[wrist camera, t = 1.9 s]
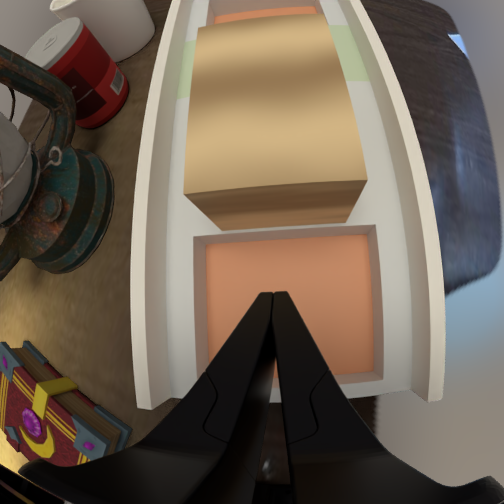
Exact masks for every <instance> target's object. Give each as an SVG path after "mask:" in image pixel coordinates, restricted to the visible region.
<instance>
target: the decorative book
mask: <svg viewBox="0 0 504 504" xmlns="http://www.w3.org/2000/svg"><path fill="white" fill-rule="evenodd" d="M47 362H48V360H47V359H46V358H45V357H44V356H43V355H42V354H41V353H40V352H39V351H38V350H37V349H36V348H35V347H34V346H33V345H32V344H31V343H30V342H29V341H24V342H23V347H22V348H12V349H11V348H10V347H9V345H8V344H7V343H6V342H0V428H1V429H2V431H3V432H4V433H5V434H6V435H7V441H8V442H9V443H10V444H11V446H12V447H13V448H14V449H15V450H16V451H17V452H20V451H21V453H22V454H23V455H24V456H25V457H26V458H27V459H28V460H29V461H32V460H34V459H36V458H42V459H44V460H46V461H48V462H50V463H53V464H55V465H58V466H74V465H79V464H82V463H85V462H88V461H91V460H94V459H97V458H100V457H103V456H106V455H109V454H112V453H115V452H118V451H120V450H123V449H124V448H125V446H126V443H127V441H128V438H129V435H130V433H131V430H132V428H130V427H129V426H127V425H126V424H124V423H123V422H121V421H120V420H119V419H117V418H116V417H114V416H113V415H112V414H110V413H109V412H108V411H106V410H105V409H103V408H102V407H101V406H100V405H98V406H96V405H95V404H94V403H92V402H91V401H90V400H89V399H87V398H86V397H85V396H84V395H83V394H81V393H80V392H79V391H78V390H77V388H78V386H77V385H76V384H75V383H74V382H73V381H71V380H70V379H69V378H68V377H62V376H61V375H60V374H59V373H58V372H57V371H55V370H54V369H53V368H52V367H51V366H50V365H49V364H48V363H47Z"/></svg>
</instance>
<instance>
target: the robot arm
mask: <svg viewBox="0 0 504 504" xmlns="http://www.w3.org/2000/svg"><path fill="white" fill-rule="evenodd" d="M275 362H276V364H277V372H278V380H279V388H280V397H281V405H282V413H283V421H284V430H285V438H286V446H287V455H288V464H289V473H290V482H291V486H290V485H265V484H255V481H256V477H257V472H258V467H259V461H260V456H261V450H262V444H263V439H264V433H265V427H266V421H267V415H268V409H269V403H270V396H271V390H272V383H273V377H274V370H275ZM18 473H19V474H20V475H22V476H23V477H25V478H26V479H25V478H23V477H22V476H20V475H18V474H17V473H15V472H13V471H11V470H10V469H8V468H6V467H4V466H3V465H1V464H0V504H498V503H499V504H504V501H503V500H504V488H503V487H502V485H500V484H499V483H498V482H497V481H496V480H495V479H494V478H493V477H491V476H487V477H484V478H481V479H478V480H476V481H473V482H471V483H468V484H465V485H462V486H457V487H450V486H445V485H442V484H440V483H437V482H435V481H434V480H432V479H431V478H429V477H427V476H426V475H424V474H422V473H421V472H419V471H417V470H416V469H414V468H413V467H411V466H409V465H408V464H406V463H405V462H403V461H402V460H400V459H398V458H397V457H396V456H394V455H392V454H391V453H390V452H389V451H388V450H387V449H386V448H385V447H384V446H383V445H382V444H381V443H380V442H379V440H378V439H377V438H376V437H375V435H374V434H373V433H372V431H371V430H370V429H369V427H368V426H367V425H366V423H365V422H364V421H363V419H362V418H361V417H360V415H359V414H358V413H357V411H356V410H355V409H354V407H353V406H352V404H351V403H350V402H349V400H348V399H347V397H346V396H345V394H344V393H343V391H342V389H341V388H340V386H339V384H338V383H337V381H336V379H335V377H334V375H333V374H332V372H331V370H329V366H328V365H327V363H326V361H325V359H324V357H323V355H322V353H321V352H320V350H319V348H318V346H317V344H316V342H315V341H314V339H313V337H312V335H311V333H310V331H309V329H308V328H307V326H306V324H305V322H304V320H303V318H302V317H301V315H300V313H299V311H298V309H297V307H296V306H295V304H294V302H293V300H292V298H291V297H290V295H289V293H288V292H287V291H275V292H274V293H273V292H260V293H259V294H258V296H257V297H256V299H255V300H254V302H253V303H252V304H251V306H250V307H249V309H248V310H247V312H246V313H245V314H244V316H243V317H242V319H241V320H240V322H239V323H238V324H237V326H236V327H235V329H234V330H233V332H232V333H231V334H230V336H229V337H228V339H227V340H226V341H225V343H224V344H223V346H222V347H221V348H220V350H219V351H218V353H217V354H216V355H215V357H214V358H213V360H212V361H211V362H210V364H209V365H208V366H207V368H206V369H205V372H203V373H202V375H201V376H200V377H199V379H198V380H197V381H196V383H195V384H194V385H193V387H192V388H191V389H190V390H189V392H188V393H187V394H186V395H185V396H184V397H183V398H182V400H181V401H180V402H179V403H178V404H177V405H176V406H175V407H174V408H173V409H172V410H171V411H170V412H169V413H168V414H167V416H166V417H165V418H164V419H163V420H162V421H161V422H160V423H159V424H158V425H157V426H156V427H155V428H154V429H153V430H152V431H151V432H150V433H149V434H148V435H147V436H146V437H144V438H143V439H142V440H141V441H139V442H138V443H136V444H134V445H132V446H131V447H128V448H126V449H123V450H120V451H118V452H115V453H112V454H109V455H106V456H103V457H100V458H97V459H94V460H91V461H88V462H85V463H82V464H79V465H74V466H58V465H55V464H53V463H50V462H48V461H46V460H44V459H42V458H36V459H34V460H32V461H30V462H28V463H26V464H25V465H23V466H22V467H21V468H20V469H19V470H18ZM27 479H28V480H27ZM29 480H30V481H31V482H30V481H29ZM32 482H33V483H32ZM34 483H35V484H34ZM37 485H38V486H37ZM39 486H40V487H39ZM44 489H45V490H44ZM46 490H47V491H46ZM286 490H290V492H287V491H286ZM55 495H56V496H55ZM57 496H58V497H57ZM59 497H60V498H59ZM61 498H62V499H61ZM63 499H64V500H63ZM502 501H503V502H502ZM500 502H501V503H500Z"/></svg>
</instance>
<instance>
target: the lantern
mask: <svg viewBox="0 0 504 504" xmlns="http://www.w3.org/2000/svg"><path fill="white" fill-rule="evenodd" d="M0 83H2V84H4V85H6V86H7V87H8V88H9V90H10V92H11V95H12V98H13V102H12V111H11V116H10V119H9V120H8V119H7V118H6V117H5V116H4V115H3V113H1V112H0V229H1V228H5V231H6V236H5V238H4V240H3V242H2V244H1V245H0V281H2V279H3V278H4V277H5V276H6V275H7V274H8V273H9V272H10V270H11V269H12V268H13V267H14V266H15V265H16V264H17V263H18V261H19V260H20V258H21V257H22V258H26V259H30V260H32V262H33V263H34V264H35V265H36V266H37V267H39V268H41V269H44V270H46V271H48V272H51V273H54V274H61V273H67V272H71V271H73V270H74V269H76V268H77V267H79V266H80V265H82V264H83V263H84V262H85V261H87V260H88V258H89V257H90V256H91V254H92V253H93V252H94V250H95V249H96V248H97V247H98V245H99V244H100V242H101V240H102V238H103V236H104V234H105V232H106V229H107V227H108V224H109V221H110V218H111V213H112V208H113V203H114V186H113V178H112V175H111V173H110V170H109V167H108V165H107V164H106V162H105V161H104V160H103V159H102V158H101V157H99V156H98V155H96V154H94V153H92V152H90V151H86V150H81V149H76V150H75V149H74V148H72V146H71V141H72V138H73V135H74V132H75V122H76V103H75V99H74V96H73V94H72V91H71V89H70V87H69V86H67V85H66V84H65V83H64V82H63V81H62V80H60V79H59V78H58V77H57V76H55V75H54V74H52V73H50V72H49V71H47V70H45V69H43V68H42V67H40V66H38V65H36V64H35V63H33V62H31V61H29V60H27V59H26V58H24V57H22V56H20V55H18V54H17V53H15V52H13V51H11V50H9V49H7V48H6V47H4V46H2V45H0ZM13 89H14V90H16V91H18V92H20V93H22V94H24V95H27V96H28V97H30V98H32V99H34V100H36V101H38V102H40V103H41V104H43V105H44V106H45V107H47V108H48V109H49V111H48V114H47V116H46V118H45V120H44V122H43V124H42V126H41V127H40V129H39V130H38V132H37V134H36V136H35V137H34V139H33V141H31V142H29V143H28V142H27V141H26V139H25V138H23V137H22V136H21V135H20V133H19V132H18V130H17V128H16V126H15V125H14V124H13V123H12V118H13V115H14V108H15V94H14V90H13ZM50 113H51V116H52V123H51V127H50V131H49V136H48V140H47V144H46V146H44V147H42V148H41V149H39V150H38V151H37V152H36V151H35V141H36V139H37V138H38V136H39V134H40V132H41V131H42V129H43V128H44V126H45V124H46V123H47V121H48V119H49V116H50ZM31 146H32V148H31ZM31 151H32V152H33V154H32V153H31ZM1 224H3V225H1Z"/></svg>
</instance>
